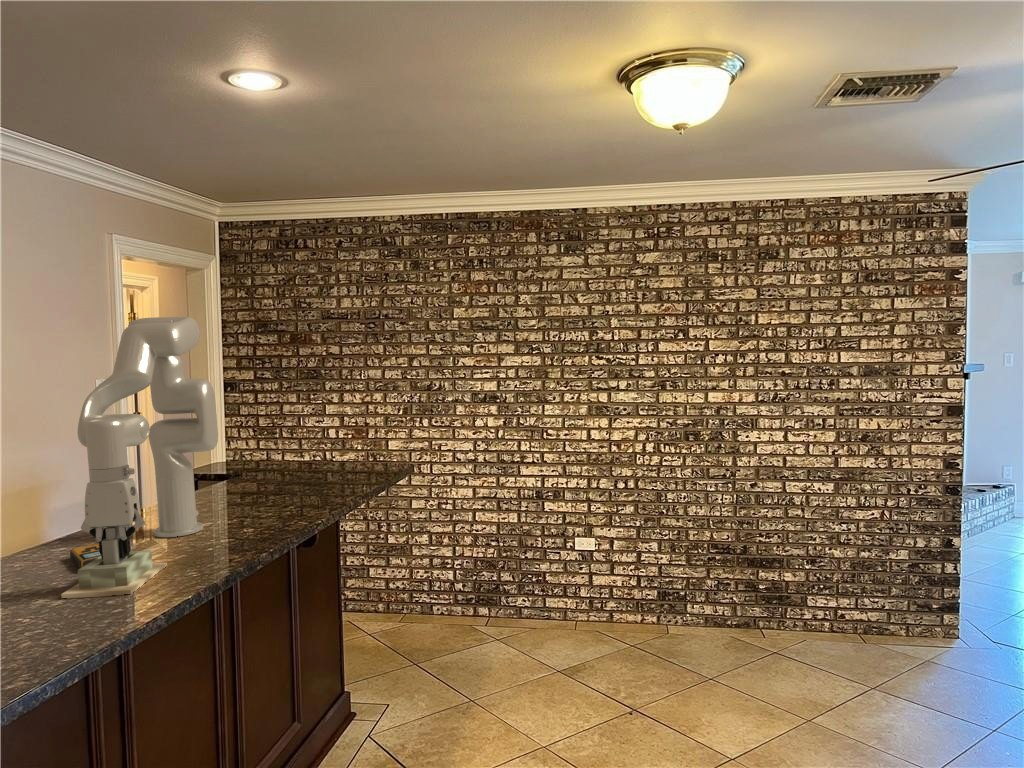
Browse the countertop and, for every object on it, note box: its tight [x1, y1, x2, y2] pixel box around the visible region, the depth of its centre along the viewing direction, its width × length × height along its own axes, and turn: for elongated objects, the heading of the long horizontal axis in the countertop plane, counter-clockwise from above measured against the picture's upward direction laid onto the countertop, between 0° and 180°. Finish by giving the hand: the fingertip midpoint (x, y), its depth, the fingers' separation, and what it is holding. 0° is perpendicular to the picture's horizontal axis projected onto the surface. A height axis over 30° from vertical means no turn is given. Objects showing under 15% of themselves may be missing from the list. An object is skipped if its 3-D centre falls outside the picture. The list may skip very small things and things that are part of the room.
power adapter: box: [102, 527, 128, 565], centre depth 156 cm, size 3×5×12 cm, turn 4°
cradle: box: [60, 549, 168, 599], centre depth 156 cm, size 18×14×5 cm
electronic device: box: [69, 543, 101, 569], centre depth 172 cm, size 8×16×3 cm, turn 42°
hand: (115, 556), depth 156 cm, fingers closed on power adapter, 3 cm apart
